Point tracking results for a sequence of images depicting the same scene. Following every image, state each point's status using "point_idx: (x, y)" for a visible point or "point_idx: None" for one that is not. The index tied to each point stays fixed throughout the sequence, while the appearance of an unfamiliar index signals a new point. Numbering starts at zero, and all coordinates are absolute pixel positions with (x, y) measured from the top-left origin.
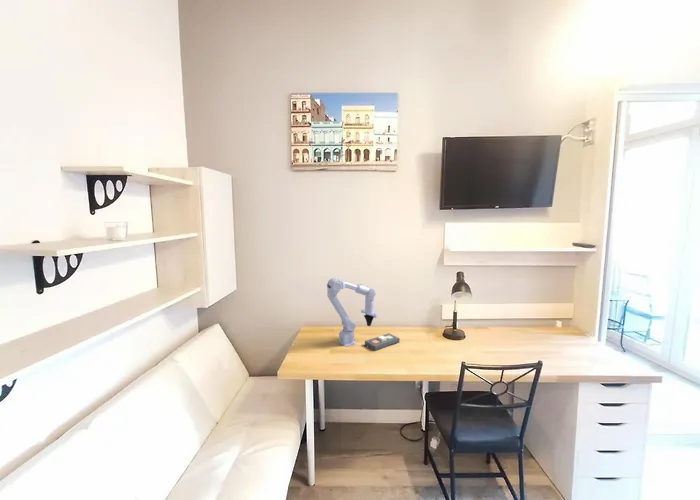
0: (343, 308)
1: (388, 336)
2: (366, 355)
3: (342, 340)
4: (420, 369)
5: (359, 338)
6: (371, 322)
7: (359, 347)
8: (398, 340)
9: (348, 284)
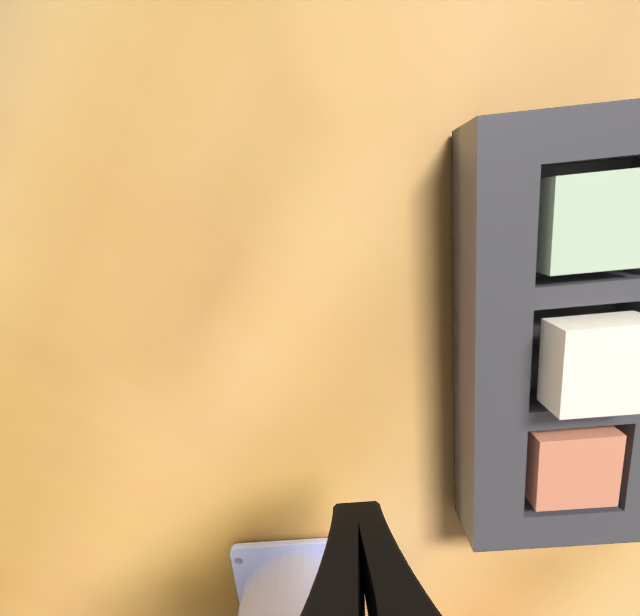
0: None
1: (579, 217)
2: (624, 594)
3: None
4: None
5: (266, 455)
6: (403, 560)
7: (453, 561)
8: None
9: None
